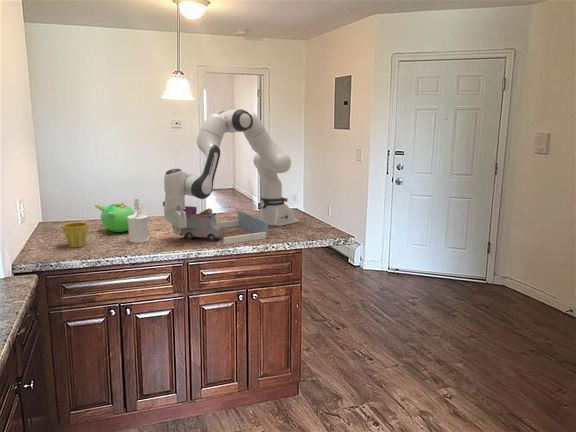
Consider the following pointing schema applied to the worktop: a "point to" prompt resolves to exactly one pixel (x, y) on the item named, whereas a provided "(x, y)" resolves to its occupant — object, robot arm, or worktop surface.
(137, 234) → the white soap dispenser
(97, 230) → the worktop surface
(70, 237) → the plant pot
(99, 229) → the worktop surface
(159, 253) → the worktop surface
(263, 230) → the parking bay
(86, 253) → the worktop surface
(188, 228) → the toy vehicle
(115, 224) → the green round vessel
